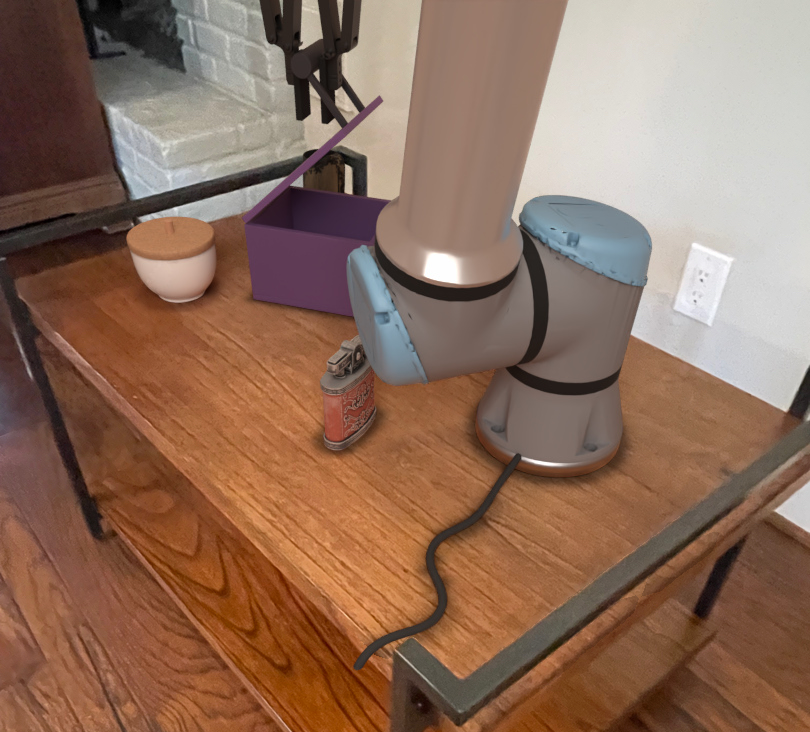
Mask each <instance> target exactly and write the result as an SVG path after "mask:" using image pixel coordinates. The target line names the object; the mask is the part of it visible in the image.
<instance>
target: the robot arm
mask: <svg viewBox="0 0 810 732" xmlns="http://www.w3.org/2000/svg"><path fill="white" fill-rule="evenodd" d="M258 1H259V6H260V13H261V17H262V23H263V28H264V35H265V40H266V42H267V43H268V44H269V45H271V46H273V45H275V46H276V47H277V48H279V49H281V50H282V52H283V56H284V68H285V80H286V83H287V85H288V86H293V92H294V93H293V94H294V108H295V121H298V122H299V121H300V122H304V120H305V119H307V118H308V117H310V116H311V115H312V107H311V89H310V82H309V81H308V79H307V78H305V79H300V78H298V77H297V76H295V74H294V73H293V71H292V69H291V59H292V57H293V56H294V55H295V54H297V53H298V52H300V51H301V50H303V49H304V48H300V47H301V46H303V44H304V41H301V40H302V18H303V16H302V15H303V0H282V7H281V1H280V0H258ZM568 3H569V0H421V4H420V12H419V13H420V14H419V22H418V30H417V40H416V46H415V47H416V48H415V55H414V56H415V57H414V65H413V73H412V74H413V75H412V82H411V92H410V101H409V107H408V108H409V109H408V117H407V126H406V133H405V143H404V151H403V158H402V159H403V161H402V168H401V169H402V170H401V178H400V185H399V195H398V196H396V197H394V198H393V199H390V200H391V201H390V202H389V203H388V204H387V205H386V206H385V207H384V208H383V209H382V211H381V212H380V214H379V216H378V219H377V224H376V234H375V243H374V246H369V247H367V246H366V245H362V246H361V247H360V248H357V249H354V250H353V251H352V252H351V253H350V254H349V256H348V259H347V283H348V290H349V296H350V301H351V306H352V310H353V315H354V317H353V318H354V322H355V327H356V329H357V333H358V335H359V336H360V339H361V342H362V345H363V348H364V351H365V353H366V356H367V358H368V360H369V363H370V365H371V367H372V368H373V370H374V374H375V375H376V376H377V378H379V380H381V382H383V383H385V384H387V385H390V386H394V387H401V386H403V387H404V386H412V385H420V384H421V385H423V386H425V385H429V383H433V382H438V381H445V380H448V379H454V378H459V377H463V376H469V375H473V374H479V373H484V372H488V371H489V372H490V371H492V370H493V371H494V370H495V372H494V373H493V375H492V377H491V378H490V382H489V383H488V385H487V387H486V388H485V390H484V392H483V394H482V396H481V398H480V399H479V402H478V403H477V406H476V408H477V410H476V415H475V424H474V427H475V434H476V437H477V439H478V441H479V443H480V444H481V446H482V447H483V448H484V449H485V450H486V452H488V453H489V454H490V455H491V456H492V457H493V458H494V459H496V460H498V461H499V462H500V463H502V464H504V465H505V466H506V467H505V468H504V469H503V471H502V473H500V476H498V478H497V480H495V482H494V484H493V486H492V487H491V489H490V490H489V492H488V494H487V495H486V497H485V498H484V500H483V502H482V503H481V505H480V506H479V507H478V508H477V509H476V511H475V512H474V513H472V514H471V515H470V516H469V517H467V518H465V519H464V520H462V521H460V522H458V523H456V524H455V525H453V526H450V527H448V528H446V529H444V530H442V531H441V532H439V533H438V534H437V535H436V536H435V537H434V538H432V539H431V541H430V543H429V544H428V546H427V549H426V551H425V564H426V568H427V572H428V574H429V576H430V578H431V580H432V582H433V584H434V587H435V590H436V593H437V598H438V602H437V605H436V609H435V610H434V611H433V613H432V614H431V615H430V616H429V617H428V618H426V619H425V620H423V621H421V622H419V623H416V624H414V625H410V626H408V627H404V628H401V629H398V630H394V631H391V632H388V633H386V634H384V635H382V636H380V637H379V638H377V639H375V640H374V641H373V642H371V643H369V644H368V645H367V646H366V648H364V649H363V651H362V652H361V653H360V654H359V656H358V657H357V659H356V660H355V662H354V663H353V666H352V668H353V670H355V671H360V670H362V669H363V668H364V666H365V665H366V663H367V662H368V661H369V659H370V658H371V657H372V656H373V655H374V654H375V653H376V652H377V651H379V650H380V649H382V648H383V647H385V646H386V645H389V644H391V643H393V642H396V641H398V640H399V641H400V640H402V639H405V638H408V637H411V636H415V635H417V634H420V633H423V632H426V631H428V630H429V629H431V628H432V627H434V626H435V625H436V624H437V623H439V622H440V620H441V619H442V617H443V616H444V614H445V612H446V609H447V606H448V593H447V590H446V586H445V584H444V581H443V580H442V577H441V575H440V573H439V571H438V569H437V566H436V562H435V554H436V550H437V548H438V547H439V546H440V545H441V543H443V542H444V541H446V540H447V539H448V538H450V537H451V536H454V535H456V534H458V533H460V532H462V531H464V530H466V529H468V528H469V527H471V526H473V525H474V524H476V523H477V522H478V521H479V520H480V519H481V518H482V517H483V516H484V515H485V514H486V513H487V512H488V510H489V509H490V508H491V506H492V504H493V503H494V501H495V499H496V497H497V496H498V494H499V492H500V491H501V489H502V488H503V487H504V484H505V483H506V482H507V480H508V479H509V477H510V476H511V475H512V473H513V472H514V470H516V471H517V470H518V471H520V472H522V473H526V474H530V475H534V476H538V477H539V476H540V477H546V478H571V477H573V478H574V477H578V476H579V477H580V476H584V475H587V474H591V473H593V472H595V471H598V470H600V469H602V468H603V467H605V466H606V465H608V464H609V463H610V462H611V461H612V460H613V459H614V458H615V456H616V455H617V454H618V453H617V452H618V451H619V447H620V444H621V440H622V438H623V433H624V421H623V411H622V409H623V408H622V402H621V392H620V391H621V390H620V381H619V380H620V375H621V372H622V367H623V363H624V360H625V356H626V353H627V350H628V346H629V341H630V339H631V334H632V331H633V327H634V323H635V320H636V316H637V313H638V310H639V306H640V302H641V300H642V296H643V292H644V289H645V286H647V284H648V280H649V278H648V273H649V268H650V267H649V266H650V261H651V257H652V251H653V241H652V237H651V235H650V232H649V231H648V229H647V228H646V227H645V226H644V225H643V223H641V222H640V221H639V220H638V219H637V218H635V217H634V216H632V215H631V214H629V213H627V212H625V211H623V210H621V209H618V208H617V207H614V206H611V205H609V204H606V203H603V202H600V201H597V200H594V199H588V198H584V197H581V196H580V197H579V196H572V195H563V194H545V195H539V196H535V197H533V198H531V199H530V200H528V201H526V203H524V205H523V207H522V210H521V212H520V213H519V214H518V222H519V225H518V224H517V223H516V221H514V219H513V218H512V217H513V214H514V211H515V210H514V209H515V205H516V202H517V198H518V194H519V191H520V187H521V183H522V179H523V175H524V171H525V168H526V164H527V161H528V156H529V152H530V148H531V144H532V141H533V137H534V134H535V129H536V126H537V122H538V118H539V114H540V110H541V108H542V107H541V106H542V103H543V98H544V95H545V92H546V87H547V83H548V80H549V76H550V73H551V69H552V64H553V61H554V57H555V53H556V50H557V45H558V41H559V39H560V35H561V31H562V26H563V24H564V23H563V22H564V19H565V16H566V11H567V9H568ZM317 6H318V13H319V14H318V15H319V19H320V27H321V28H320V29H321V34H322V35H321V36H322V39H323V43H324V50H325V52H324V53H322V54H323V55H322V56H321V57H319V58H318V59H319V70H318V76H319V79H318V81H319V82H320V84H321V85H322V86H323V88H324V89H325V91H326V92H327V94H328V95H329V96H330V98H331V99H332V101H333V102H334V104H335V105H336V91H338V90H339V89H340V88H342V87H341V85H342V74H343V61H342V60H343V59H342V58H343V54H348V53H349V52H352V50H354V49H355V48H357V46H358V45H359V38H360V27H361V26H360V25H361V13H362V0H342V11H341V21H340V12H339V4H338V0H317ZM319 98H320V97H319ZM319 101H320V120H321V124H322V125H329V124H330V123H331V122H333V120H336V119H335V118H334V116H333V115H332V113H331V112H330V111H329V109H328V108H327V106H326V105H325V103H324V102H323V101H322V99H321V98H320V100H319Z"/></svg>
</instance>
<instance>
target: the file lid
mask: <svg viewBox="0 0 810 732" xmlns="http://www.w3.org/2000/svg"><path fill="white" fill-rule="evenodd" d="M302 49H303V50H301V51H300V52H298V53H297V54H295V55H294V56H293V57H292V59H291V69H292V71H293V73H294V74H295V76H297V77H298V78H300V79H305V78H307V79H308V81H309V85H310V86H311V87H312V89H314V91H315V92H316V94H317V95H318V97H319V98H321V99H322V101H323V102H324V103H325V105H326V106H327V108H328V109H329V111H330V112H331V113H332V115H333V116H334V118H335V119H334V120H335V121H336V122H337V124H338V125H339V127H340V129H339V130H338V131H337V132H336V133H335V134H334V135H333V136H331V137H330V138H329V139H328V140H327V141H326V142H325V143H324V144H322V145H321V146H320V147H319V148H317V149H318V150H317V151H316V152H315V153H314V154H313V155H311V156H310V157H309V158H308V159H307V160H306V161H305V162H303V161H302V163H301V164H300V165H299V166H298V167H296V168H295V169H294V170H293V171H292V172H291V173H290V174H288V175H287V177H285V178H284V179H283V180H282V181H281V182H280V183H279V184H277V185H276V186H275V187H274V188H273V189H272V190H271V191H269V193H268V194H266V195H265V196H264V197H263V198H262V199H261V200H259V201H258V203H256V204H255V205H254V206H252V208H250V209H249V210H248V212H246V213H245V214H244V215H243V216H242V217H241V220H242V221H243V222H244V223H245V224H246V223H247V222H248V221H250V220H251V219H252V218H253V217H254V216H255V215H256V214H258V213H259V212H260V211H261V210H262V209H263V208H264V207H266V206H267V205H268V204H269V203H270V202H271V201H273V200H274V199H275V198H276V197H277V196H278V195H279V194H281V193H282V192H283V191H284V190H285V189H286V188H287V187H289V186H292V184H293V183H294V182H296V180H298V179H299V178H300V177H302V176H303V173H305V172H306V171H307V170H308V169H309V168H310V167H311V166H313V165H314V164H315V163H316V162H317V161H318V160H319V159H321V158H322V157H323V156H324V155H325V154H326V153H327V152H329V151H330V150H333V148H335V147H336V146H337V145H338V144H339V143H340V142H341V141H343V140H344V139H345V138H346V137H347V136H348V135H350V133H351V132H352V131H354V129H356V128H357V127H358V126H359V125H360V124H361V123H362V122H364V120H365V119H366V118H368V117H369V115H371V114H372V113H373V112H374V111H375V110H376V109H377V108H378V107H379V106H380V105H382V104H383V102H384V100H383V98H382V96H381V95H378V96H377V97H376V98H374V99H373V100H372V101H371V102H370V103H369V104H368V105H367V106H365V105H364V103H363V102H362V101H361V99H360V98H359V96H358V94H356V92H355V91H354V89H353V87H352V85H351V84H350V83H349V81H348V79H346V77H345V75H344V74H343V73H342V85H341V87H340V88H342V90H343V91H344V93H345V94H346V96H347V97H348V98H349V100H350V101H351V103H352V104H353V106H354V107H355V109H356V110H357V111H358V114H356V115H355V116H354V117H353V118H352V119H351V120H349V121H348V120H347V119H346V118H345V117H344V115H343V113H342V112H341V110H340V109H339V108H338V106H337V105H336V103H335V104H334V102H333V101H332V99H331V98H330V96H329V95H328V94H327V92H326V91H325V89H324V88H323V86H322V85H321V84H320V80H319V79H318V78H317V76H316V75H315V74H314V73H316V72H318V71H319V59H318V58H319V57H321V56H322V55H323V54H322V53H324V52H325V50H324V43H323V38H319V39H317V40H316V41H314V42H313V43H310V44H309V45H308V46H306V47H304V48H302Z"/></svg>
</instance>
